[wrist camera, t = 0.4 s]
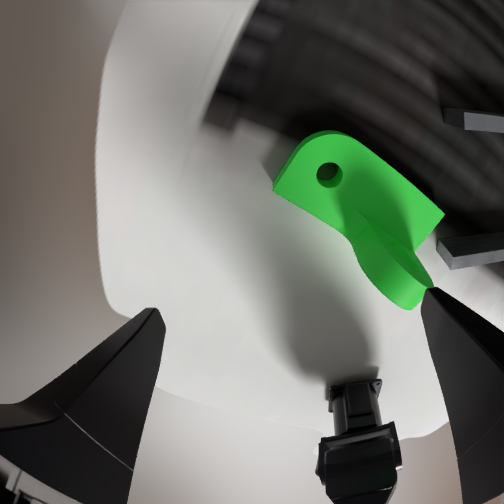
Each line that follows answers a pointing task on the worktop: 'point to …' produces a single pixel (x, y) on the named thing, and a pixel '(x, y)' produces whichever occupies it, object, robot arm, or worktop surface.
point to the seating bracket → (481, 245)
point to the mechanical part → (365, 210)
